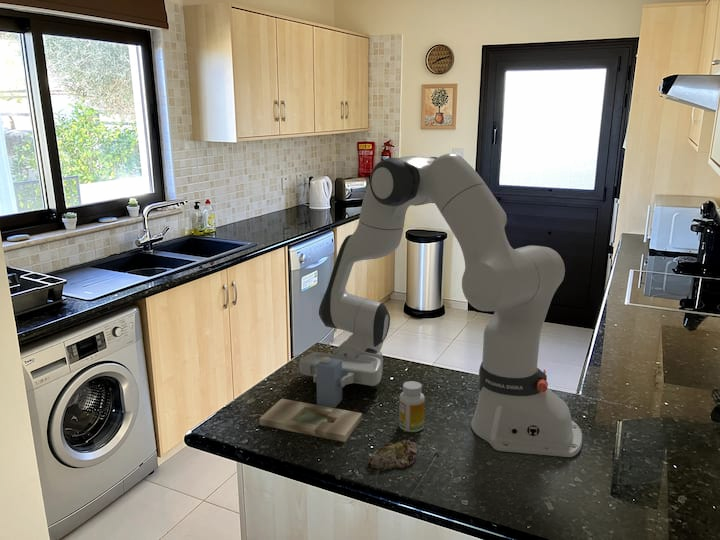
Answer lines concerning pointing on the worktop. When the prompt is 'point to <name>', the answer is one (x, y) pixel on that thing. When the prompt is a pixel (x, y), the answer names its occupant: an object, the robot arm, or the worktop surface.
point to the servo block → (328, 382)
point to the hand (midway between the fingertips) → (327, 381)
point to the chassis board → (311, 419)
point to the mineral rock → (394, 455)
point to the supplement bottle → (411, 407)
